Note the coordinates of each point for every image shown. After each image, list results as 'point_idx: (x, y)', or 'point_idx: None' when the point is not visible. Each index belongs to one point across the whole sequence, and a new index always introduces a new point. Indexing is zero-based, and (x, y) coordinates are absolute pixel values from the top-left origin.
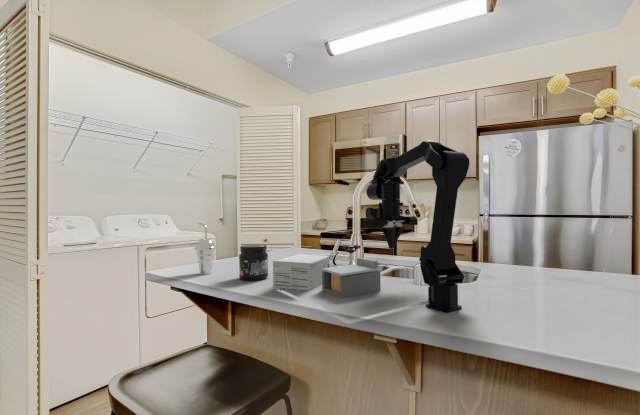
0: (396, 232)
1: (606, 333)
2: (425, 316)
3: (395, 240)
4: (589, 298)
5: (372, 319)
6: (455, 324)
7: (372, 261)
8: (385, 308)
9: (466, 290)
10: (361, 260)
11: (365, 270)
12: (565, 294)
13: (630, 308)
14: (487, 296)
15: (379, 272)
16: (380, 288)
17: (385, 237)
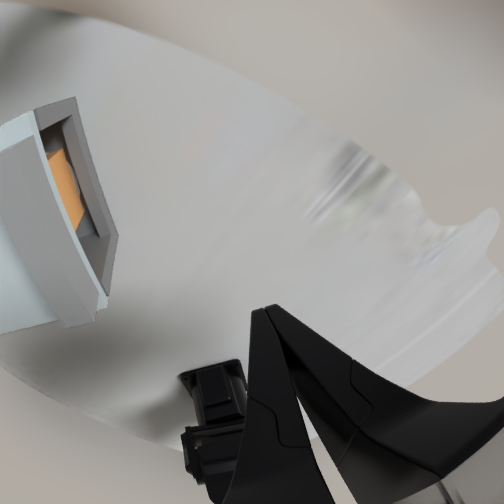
0: (341, 469)
1: (309, 433)
2: (145, 404)
3: (303, 403)
4: (439, 349)
5: (43, 393)
6: (173, 426)
7: (59, 318)
8: (79, 362)
9: (384, 284)
10: (7, 213)
11: (22, 328)
12: (446, 331)
13: (417, 379)
14: (366, 332)
15: (104, 292)
16: (116, 244)
17: (247, 408)
